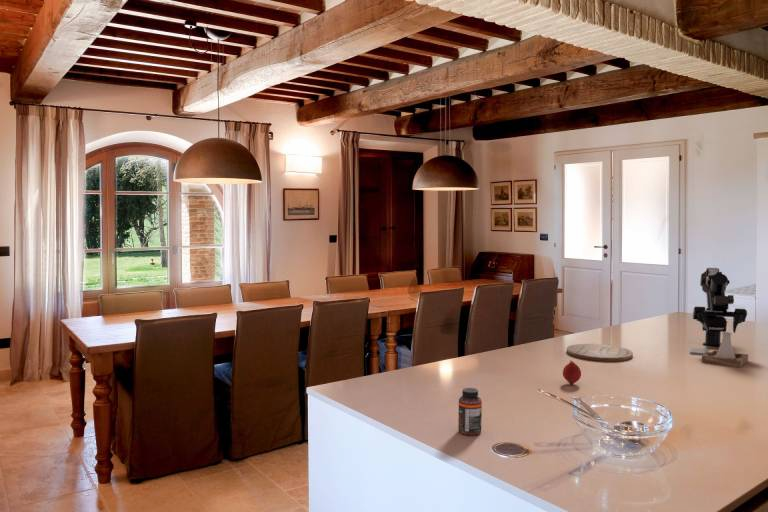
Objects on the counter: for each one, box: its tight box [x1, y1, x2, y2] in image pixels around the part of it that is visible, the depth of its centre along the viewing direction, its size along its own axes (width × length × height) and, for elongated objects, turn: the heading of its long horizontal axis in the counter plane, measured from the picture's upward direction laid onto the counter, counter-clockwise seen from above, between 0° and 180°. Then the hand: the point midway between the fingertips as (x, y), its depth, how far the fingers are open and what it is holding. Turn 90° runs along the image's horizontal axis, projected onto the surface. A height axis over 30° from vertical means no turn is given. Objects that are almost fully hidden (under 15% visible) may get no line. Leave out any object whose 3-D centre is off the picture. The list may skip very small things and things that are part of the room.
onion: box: [562, 359, 582, 385], centre depth 207 cm, size 6×6×8 cm
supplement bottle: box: [457, 387, 483, 437], centre depth 163 cm, size 6×6×11 cm
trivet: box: [566, 343, 634, 363], centre depth 250 cm, size 25×25×2 cm
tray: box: [701, 349, 749, 368], centre depth 239 cm, size 13×13×2 cm
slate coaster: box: [689, 347, 712, 356], centre depth 253 cm, size 9×9×1 cm
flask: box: [716, 331, 736, 359], centre depth 239 cm, size 7×7×10 cm
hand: (721, 331), depth 247 cm, fingers open, 9 cm apart
